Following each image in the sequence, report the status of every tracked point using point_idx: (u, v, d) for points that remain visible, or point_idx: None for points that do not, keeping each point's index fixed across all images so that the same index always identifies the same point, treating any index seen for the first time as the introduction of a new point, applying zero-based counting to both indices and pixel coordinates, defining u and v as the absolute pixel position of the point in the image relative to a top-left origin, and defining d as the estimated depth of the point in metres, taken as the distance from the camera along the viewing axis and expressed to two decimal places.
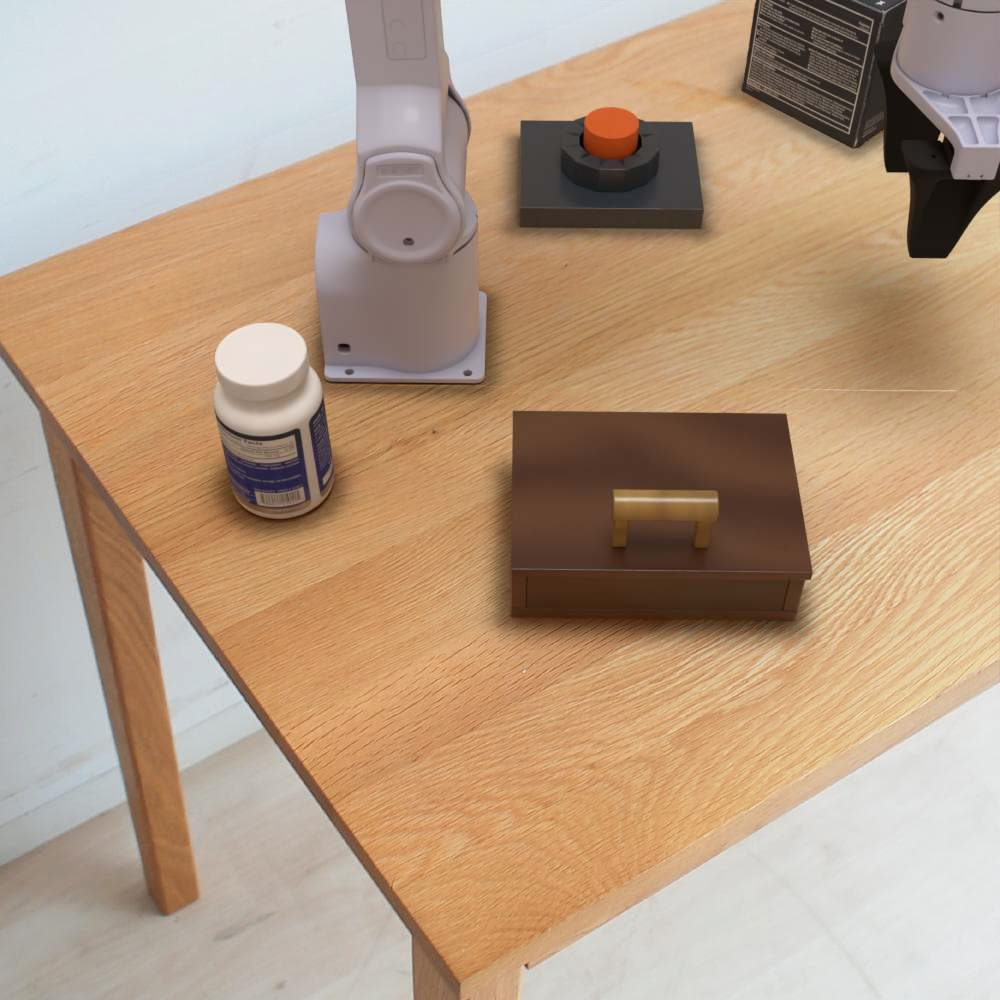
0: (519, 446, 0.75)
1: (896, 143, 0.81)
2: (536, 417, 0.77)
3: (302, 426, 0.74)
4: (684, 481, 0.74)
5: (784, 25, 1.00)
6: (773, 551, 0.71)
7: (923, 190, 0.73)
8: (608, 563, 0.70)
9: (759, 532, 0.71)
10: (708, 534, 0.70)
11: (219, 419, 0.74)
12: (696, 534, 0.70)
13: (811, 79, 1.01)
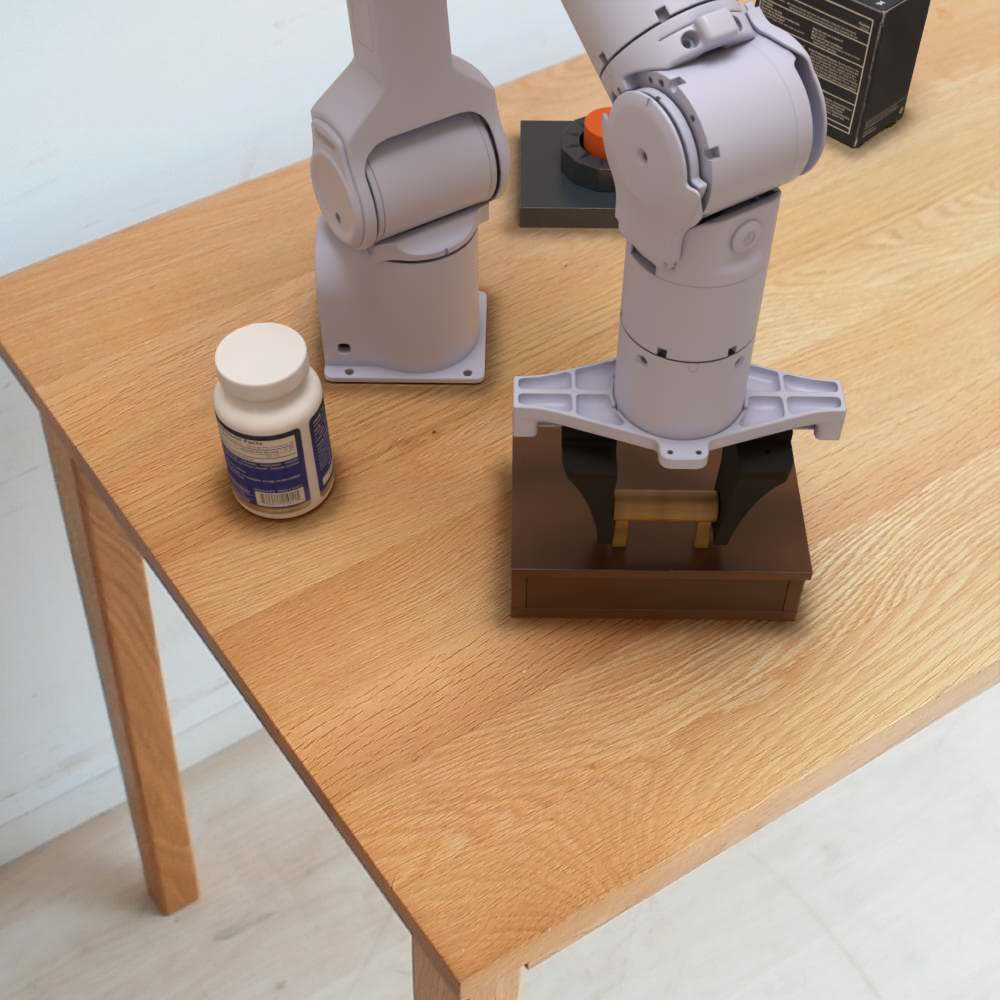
0: (519, 446, 0.75)
1: (717, 490, 0.69)
2: None
3: (302, 426, 0.74)
4: (684, 481, 0.74)
5: (784, 25, 1.00)
6: (773, 551, 0.71)
7: None
8: (608, 563, 0.70)
9: (759, 532, 0.71)
10: (708, 534, 0.70)
11: (219, 419, 0.74)
12: (696, 534, 0.70)
13: None
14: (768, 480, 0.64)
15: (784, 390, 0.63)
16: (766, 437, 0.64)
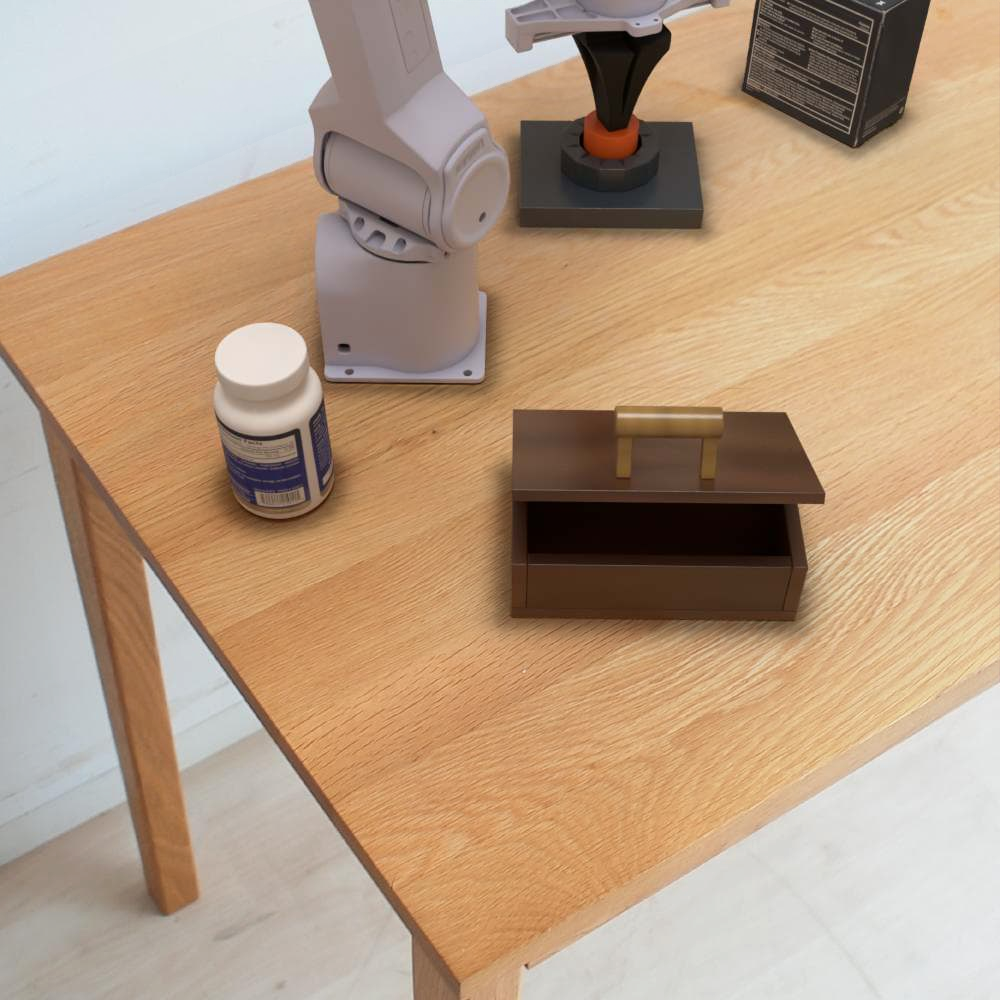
0: (519, 426, 0.75)
1: None
2: (536, 412, 0.77)
3: (302, 426, 0.74)
4: (687, 444, 0.73)
5: (784, 25, 1.00)
6: (783, 481, 0.68)
7: (575, 41, 0.91)
8: (612, 487, 0.68)
9: (766, 471, 0.69)
10: (714, 458, 0.68)
11: (219, 419, 0.74)
12: (702, 459, 0.68)
13: (811, 79, 1.01)
14: (659, 49, 0.89)
15: None
16: None
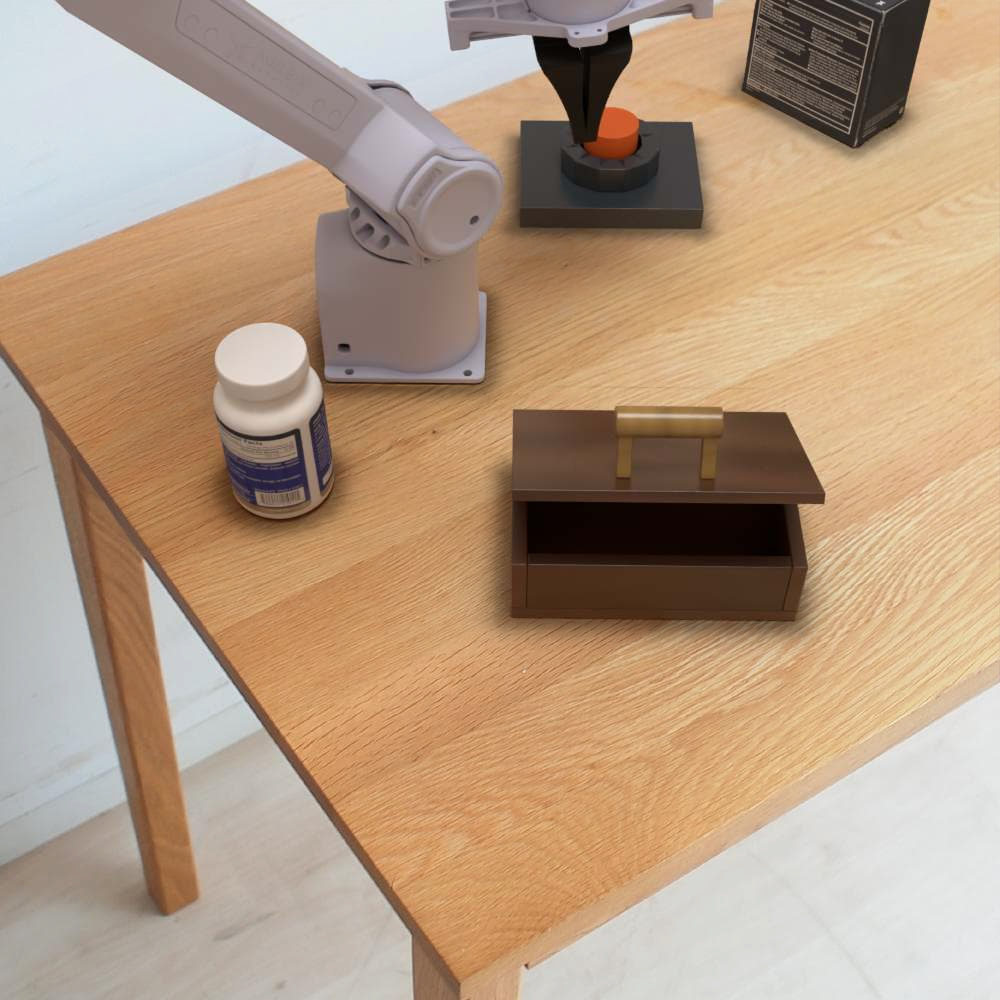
0: (519, 426, 0.75)
1: (581, 97, 0.84)
2: (536, 412, 0.77)
3: (302, 426, 0.74)
4: (687, 444, 0.73)
5: (784, 25, 1.00)
6: (783, 481, 0.68)
7: None
8: (612, 487, 0.68)
9: (766, 471, 0.69)
10: (714, 458, 0.68)
11: (219, 419, 0.74)
12: (702, 459, 0.68)
13: (811, 79, 1.01)
14: (614, 61, 0.79)
15: None
16: None
